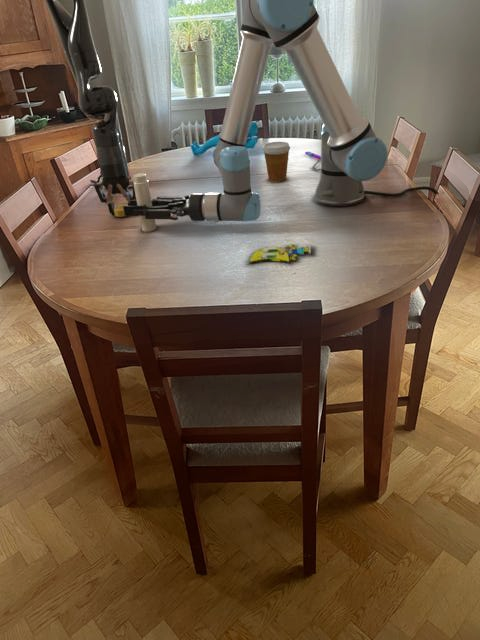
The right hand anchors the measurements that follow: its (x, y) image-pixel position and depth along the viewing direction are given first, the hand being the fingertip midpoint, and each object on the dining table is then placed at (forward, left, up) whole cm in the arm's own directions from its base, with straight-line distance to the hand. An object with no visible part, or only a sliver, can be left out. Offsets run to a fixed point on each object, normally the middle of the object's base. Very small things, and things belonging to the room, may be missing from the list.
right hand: (128, 207), depth 139 cm
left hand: (+2, -13, -6) cm, 15 cm away
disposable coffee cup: (-53, -26, -7) cm, 59 cm away
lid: (+2, -13, -4) cm, 14 cm away
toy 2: (-35, +34, -7) cm, 50 cm away
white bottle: (-5, +2, -7) cm, 8 cm away
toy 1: (-44, -72, -7) cm, 84 cm away
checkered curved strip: (-75, -37, -7) cm, 84 cm away
